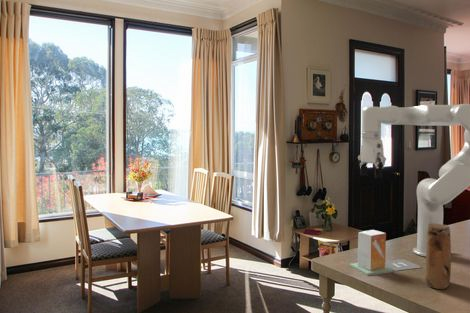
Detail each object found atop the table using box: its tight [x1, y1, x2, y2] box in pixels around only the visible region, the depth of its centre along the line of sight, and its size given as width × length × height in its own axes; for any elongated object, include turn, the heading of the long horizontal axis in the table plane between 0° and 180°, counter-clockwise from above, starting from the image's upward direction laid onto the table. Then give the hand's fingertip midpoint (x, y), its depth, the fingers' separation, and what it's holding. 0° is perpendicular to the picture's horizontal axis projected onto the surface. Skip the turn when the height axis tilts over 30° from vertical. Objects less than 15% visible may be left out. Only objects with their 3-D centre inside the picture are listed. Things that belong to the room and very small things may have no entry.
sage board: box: [349, 262, 394, 276], centre depth 146 cm, size 11×11×1 cm
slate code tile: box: [385, 258, 423, 272], centre depth 150 cm, size 12×10×1 cm
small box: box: [357, 229, 387, 271], centre depth 145 cm, size 8×6×13 cm
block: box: [424, 223, 452, 290], centre depth 130 cm, size 11×8×20 cm
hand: (371, 176), depth 165 cm, fingers open, 9 cm apart
